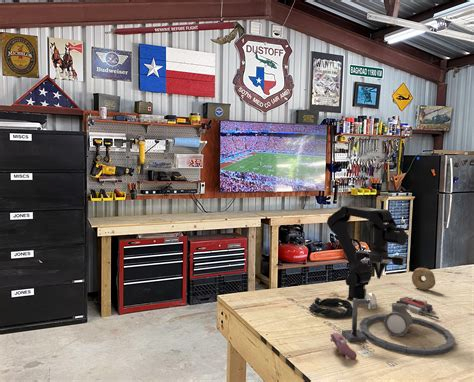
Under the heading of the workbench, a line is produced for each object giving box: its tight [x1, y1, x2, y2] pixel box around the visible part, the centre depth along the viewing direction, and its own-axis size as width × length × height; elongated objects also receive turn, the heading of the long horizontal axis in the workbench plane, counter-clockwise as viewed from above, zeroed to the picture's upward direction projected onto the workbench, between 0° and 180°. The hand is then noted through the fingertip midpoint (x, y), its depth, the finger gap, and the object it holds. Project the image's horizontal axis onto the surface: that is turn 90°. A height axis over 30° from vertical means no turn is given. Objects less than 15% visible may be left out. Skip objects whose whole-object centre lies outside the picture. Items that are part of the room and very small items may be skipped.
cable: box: [308, 297, 353, 319], centre depth 164 cm, size 17×14×4 cm
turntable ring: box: [358, 313, 456, 356], centre depth 144 cm, size 30×30×2 cm
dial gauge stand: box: [341, 293, 378, 343], centre depth 140 cm, size 9×6×15 cm, turn 100°
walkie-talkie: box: [395, 296, 440, 320], centre depth 167 cm, size 9×4×20 cm
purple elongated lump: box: [330, 331, 357, 360], centre depth 130 cm, size 10×5×7 cm, turn 6°
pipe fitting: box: [383, 302, 413, 337], centre depth 147 cm, size 12×8×10 cm
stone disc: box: [411, 267, 437, 291], centre depth 195 cm, size 10×4×10 cm, turn 46°
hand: (378, 278), depth 170 cm, fingers closed
